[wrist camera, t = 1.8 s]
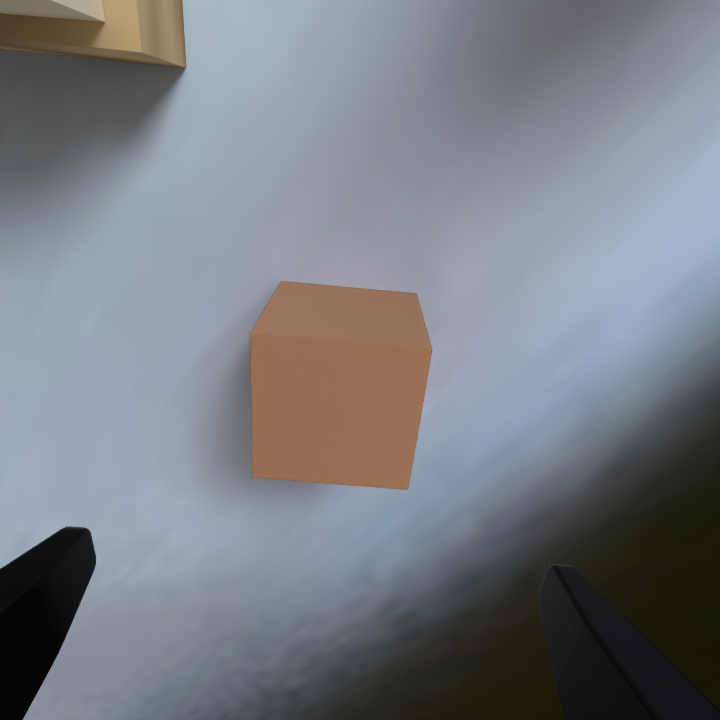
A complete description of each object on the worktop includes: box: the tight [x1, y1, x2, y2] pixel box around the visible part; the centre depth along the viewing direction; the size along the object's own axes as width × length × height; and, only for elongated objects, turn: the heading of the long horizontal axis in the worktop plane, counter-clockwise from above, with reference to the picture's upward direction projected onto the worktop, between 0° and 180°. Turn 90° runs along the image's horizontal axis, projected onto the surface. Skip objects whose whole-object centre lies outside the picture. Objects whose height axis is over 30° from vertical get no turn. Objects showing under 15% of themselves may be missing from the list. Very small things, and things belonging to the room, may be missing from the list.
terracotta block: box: [251, 281, 432, 490], centre depth 16 cm, size 5×5×5 cm
